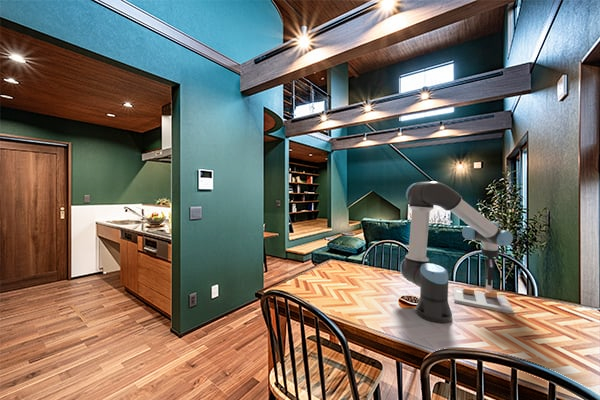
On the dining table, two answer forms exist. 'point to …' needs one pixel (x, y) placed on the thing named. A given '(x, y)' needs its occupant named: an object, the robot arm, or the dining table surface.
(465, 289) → the tab
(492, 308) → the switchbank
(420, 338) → the dining table surface
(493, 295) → the tab
